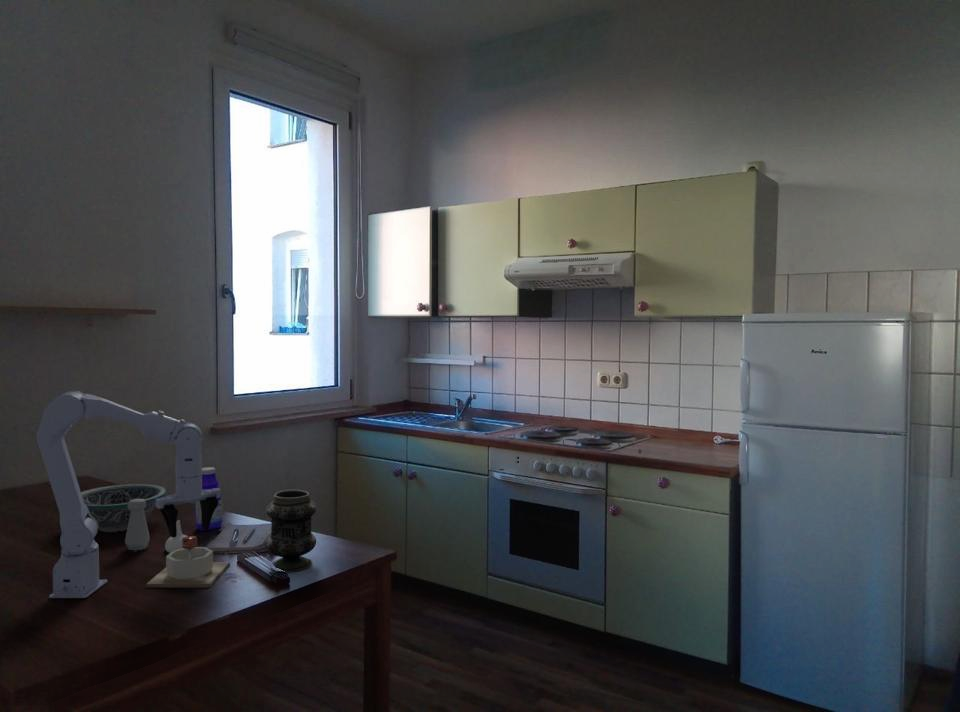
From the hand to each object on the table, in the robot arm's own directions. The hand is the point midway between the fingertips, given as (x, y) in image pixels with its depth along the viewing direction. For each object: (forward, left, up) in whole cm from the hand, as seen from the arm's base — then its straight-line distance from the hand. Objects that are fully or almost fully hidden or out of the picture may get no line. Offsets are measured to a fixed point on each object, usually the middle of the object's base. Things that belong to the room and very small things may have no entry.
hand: (189, 532), depth 163 cm
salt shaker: (+19, +21, -10) cm, 30 cm away
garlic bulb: (+18, +10, -11) cm, 24 cm away
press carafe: (0, 0, -10) cm, 10 cm away
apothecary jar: (+7, -22, -10) cm, 25 cm away
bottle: (+37, +9, -10) cm, 39 cm away
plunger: (0, 0, -9) cm, 9 cm away
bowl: (+38, +35, -10) cm, 53 cm away
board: (0, 0, -10) cm, 10 cm away
